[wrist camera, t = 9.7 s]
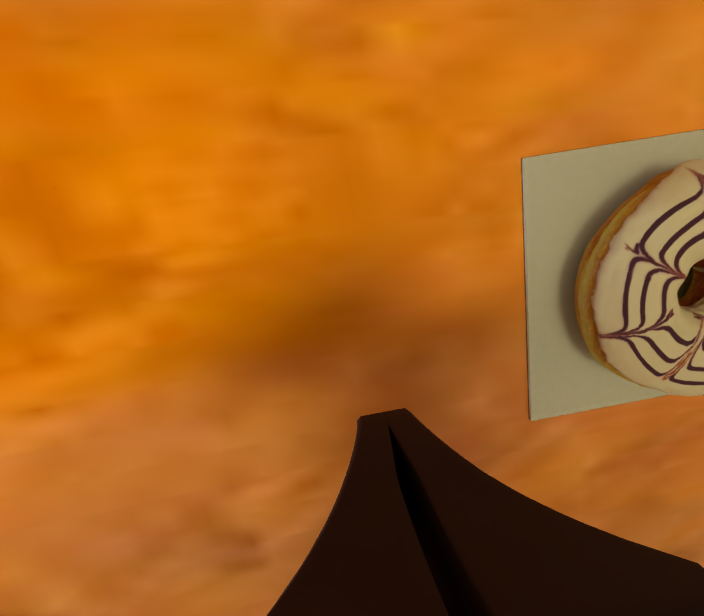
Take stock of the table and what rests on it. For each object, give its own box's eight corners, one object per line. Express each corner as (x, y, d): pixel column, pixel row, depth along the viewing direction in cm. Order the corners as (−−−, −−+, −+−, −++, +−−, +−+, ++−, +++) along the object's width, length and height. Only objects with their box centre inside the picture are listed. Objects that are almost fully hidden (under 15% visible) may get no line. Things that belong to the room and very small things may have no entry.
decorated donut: (792, 211, 20) (901, 214, 16) (679, 392, 22) (751, 430, 18) (629, 130, 18) (710, 111, 14) (524, 337, 20) (570, 367, 16)
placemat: (760, 375, 22) (764, 376, 22) (529, 419, 22) (531, 421, 21) (801, 113, 18) (806, 112, 18) (521, 158, 18) (523, 157, 18)
